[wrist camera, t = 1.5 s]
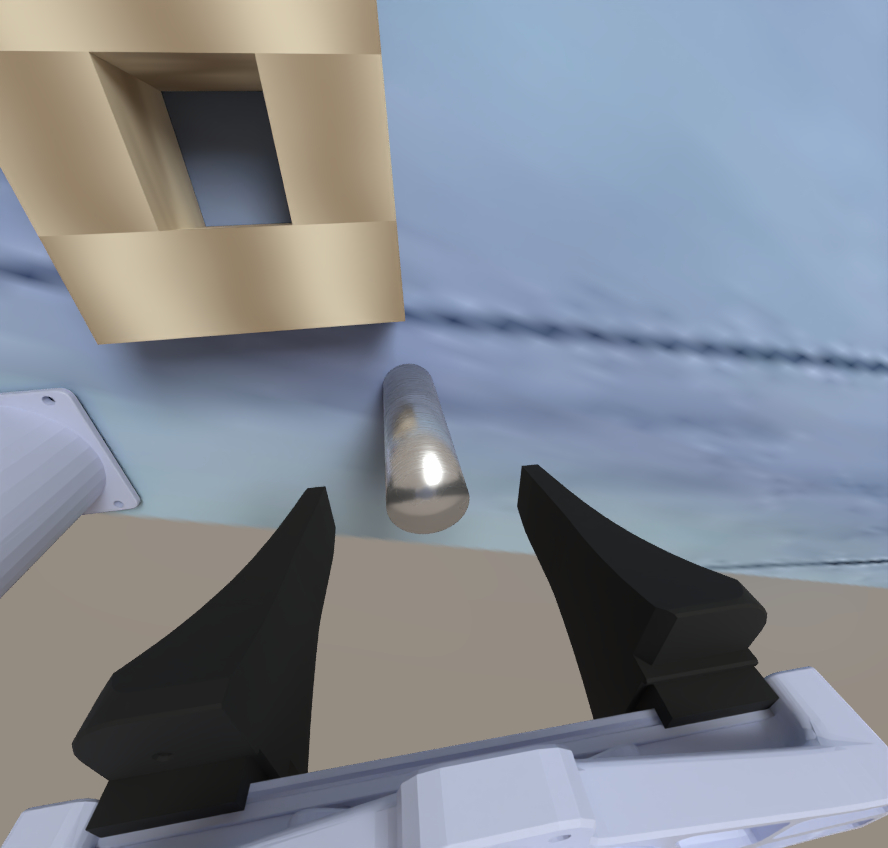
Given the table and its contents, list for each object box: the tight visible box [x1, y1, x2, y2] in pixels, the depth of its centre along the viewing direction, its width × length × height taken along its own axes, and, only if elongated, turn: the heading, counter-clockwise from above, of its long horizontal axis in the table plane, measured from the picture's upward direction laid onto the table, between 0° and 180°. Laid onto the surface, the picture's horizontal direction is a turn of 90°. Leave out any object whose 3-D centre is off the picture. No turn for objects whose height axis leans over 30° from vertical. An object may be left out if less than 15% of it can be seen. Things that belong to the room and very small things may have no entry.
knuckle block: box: [0, 0, 405, 345], centre depth 13 cm, size 12×12×4 cm
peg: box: [383, 364, 469, 534], centre depth 17 cm, size 3×3×10 cm
